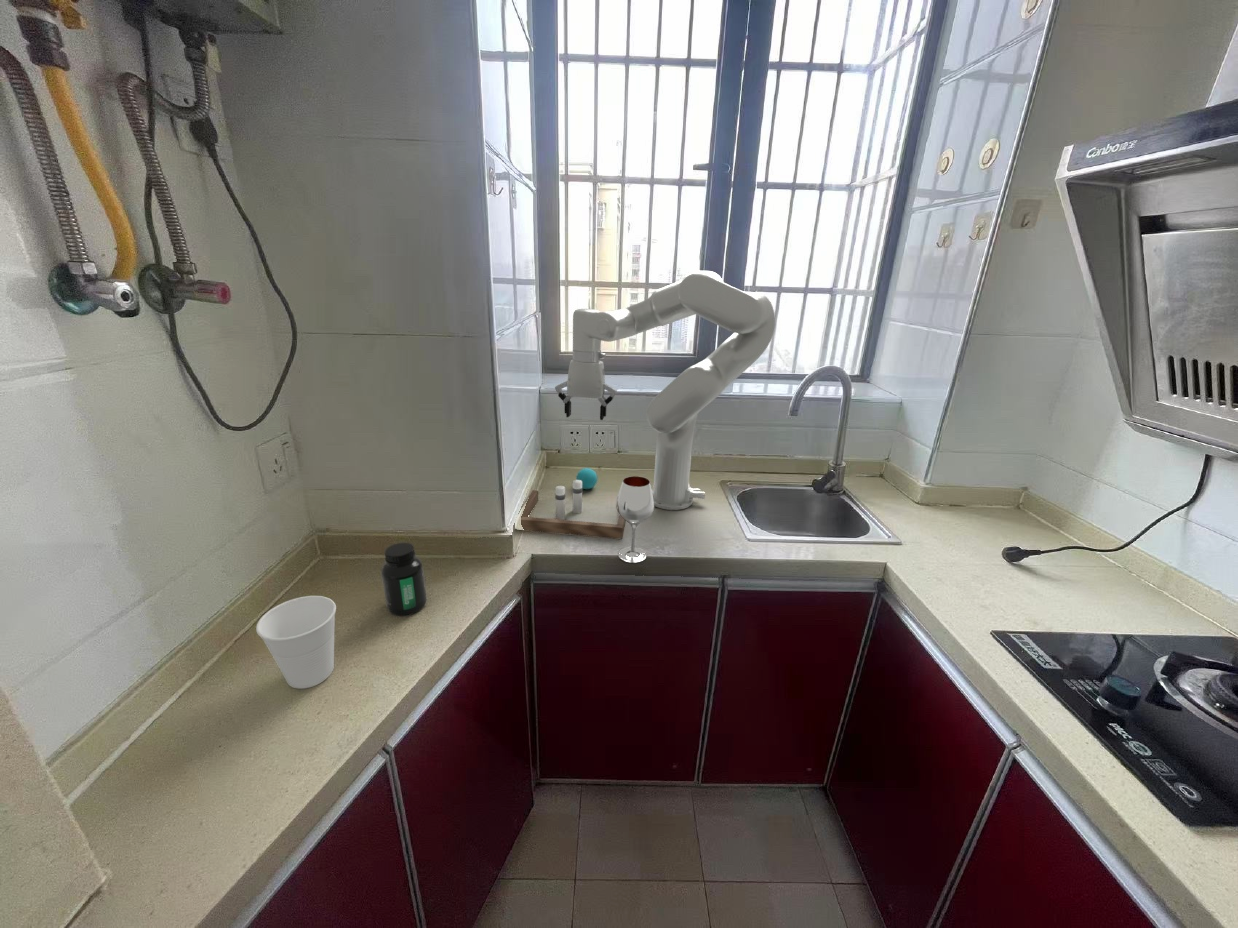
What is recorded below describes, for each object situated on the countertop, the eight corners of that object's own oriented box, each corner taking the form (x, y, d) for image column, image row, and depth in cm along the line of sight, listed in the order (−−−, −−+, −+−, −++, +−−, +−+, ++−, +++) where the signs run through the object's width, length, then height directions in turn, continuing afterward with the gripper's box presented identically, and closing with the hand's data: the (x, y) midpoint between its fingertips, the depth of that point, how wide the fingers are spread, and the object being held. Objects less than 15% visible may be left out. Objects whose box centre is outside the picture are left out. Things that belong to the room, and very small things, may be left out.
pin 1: (566, 516, 128) (566, 486, 125) (564, 521, 125) (564, 490, 122) (556, 515, 128) (556, 485, 125) (554, 520, 126) (554, 489, 122)
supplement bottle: (419, 617, 90) (411, 560, 85) (381, 616, 89) (371, 559, 85) (432, 594, 96) (425, 539, 92) (396, 593, 96) (387, 539, 91)
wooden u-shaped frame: (628, 507, 134) (628, 497, 132) (622, 539, 118) (622, 527, 117) (533, 500, 136) (532, 490, 135) (514, 530, 120) (514, 518, 119)
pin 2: (582, 509, 132) (583, 480, 128) (581, 513, 129) (581, 483, 126) (573, 508, 132) (573, 479, 129) (571, 513, 129) (571, 483, 126)
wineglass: (634, 542, 117) (638, 471, 110) (658, 557, 111) (663, 483, 105) (606, 553, 112) (609, 479, 105) (630, 569, 106) (634, 492, 100)
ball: (598, 484, 147) (598, 465, 145) (595, 493, 141) (595, 473, 139) (578, 483, 147) (578, 464, 145) (574, 491, 142) (574, 472, 140)
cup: (295, 652, 81) (280, 595, 77) (358, 650, 81) (347, 594, 77) (258, 701, 72) (239, 640, 67) (330, 699, 72) (315, 639, 68)
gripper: (619, 356, 138) (617, 416, 144) (558, 352, 140) (558, 411, 146) (616, 361, 131) (613, 423, 137) (551, 356, 133) (552, 418, 139)
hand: (585, 417), depth 142 cm, fingers open, 9 cm apart
